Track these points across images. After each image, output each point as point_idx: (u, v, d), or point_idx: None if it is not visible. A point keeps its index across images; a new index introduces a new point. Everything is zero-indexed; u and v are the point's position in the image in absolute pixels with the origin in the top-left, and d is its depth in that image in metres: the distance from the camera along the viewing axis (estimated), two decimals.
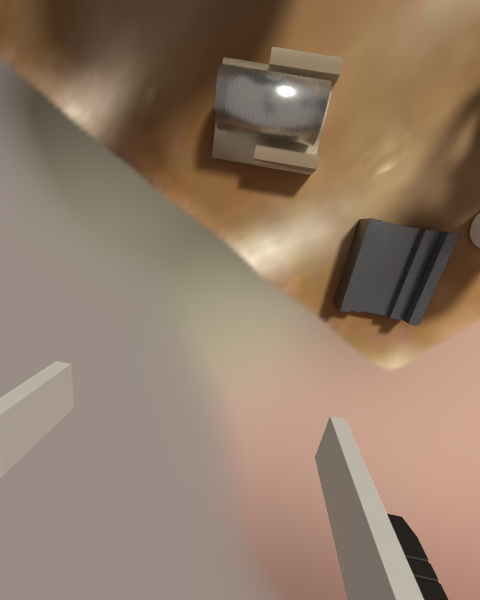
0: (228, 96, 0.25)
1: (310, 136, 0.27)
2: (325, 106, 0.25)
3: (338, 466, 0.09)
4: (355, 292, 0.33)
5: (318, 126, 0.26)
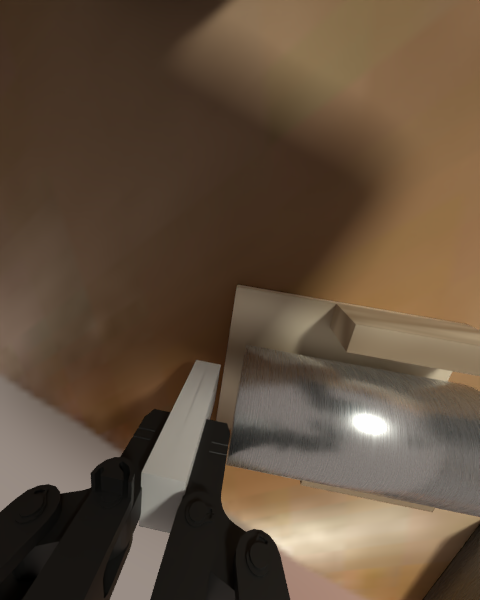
0: (259, 466, 0.10)
1: None
2: None
3: None
4: None
5: (473, 515, 0.11)
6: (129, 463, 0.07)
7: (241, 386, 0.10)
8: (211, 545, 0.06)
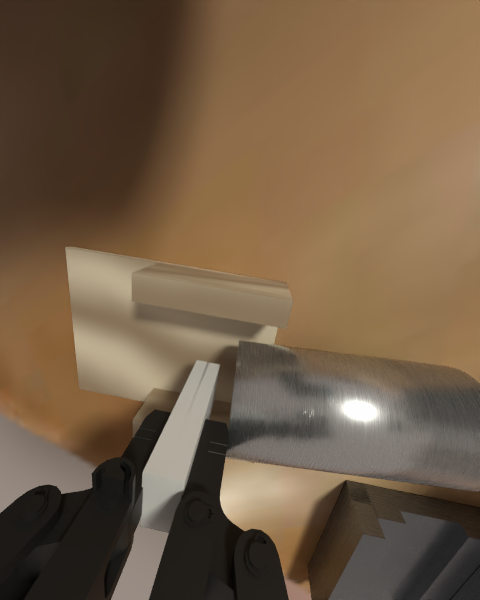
0: (256, 458, 0.11)
1: None
2: None
3: None
4: None
5: None
6: (130, 463, 0.07)
7: (235, 383, 0.10)
8: (210, 545, 0.06)
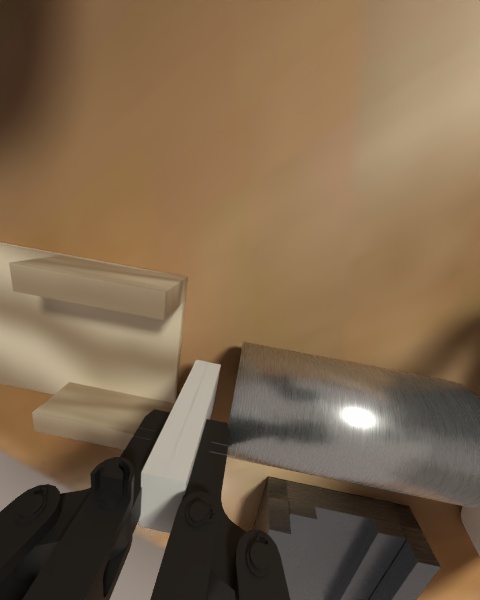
0: (254, 457, 0.11)
1: None
2: None
3: None
4: None
5: (458, 504, 0.11)
6: (129, 463, 0.07)
7: (237, 381, 0.11)
8: (211, 545, 0.06)
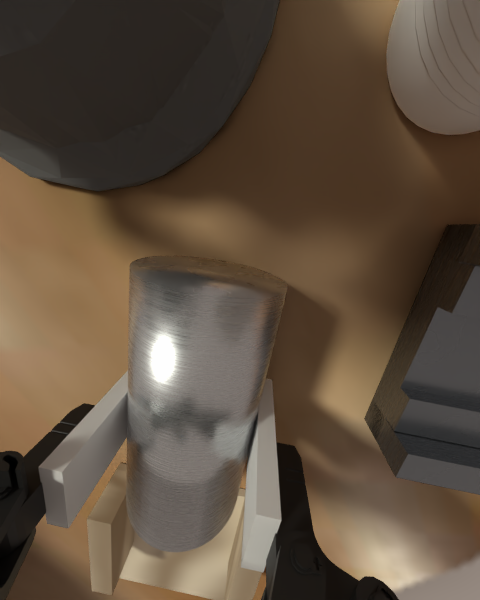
0: (182, 531, 0.10)
1: (275, 315, 0.08)
2: (198, 298, 0.06)
3: None
4: None
5: (255, 306, 0.07)
6: (17, 454, 0.07)
7: (126, 505, 0.11)
8: None
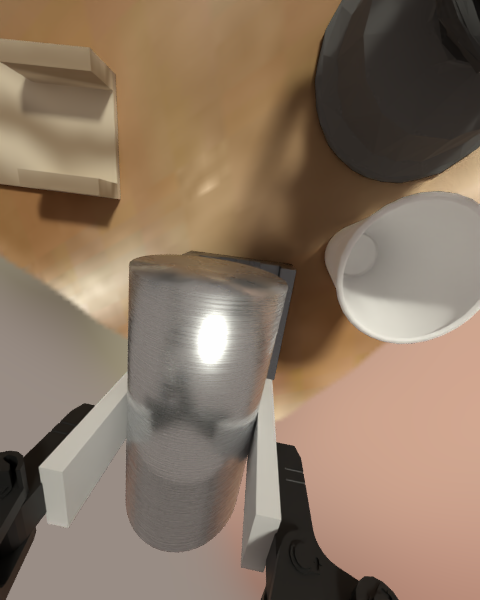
0: (182, 531, 0.10)
1: (275, 314, 0.08)
2: (198, 296, 0.06)
3: None
4: None
5: (255, 305, 0.07)
6: (17, 454, 0.07)
7: None
8: None
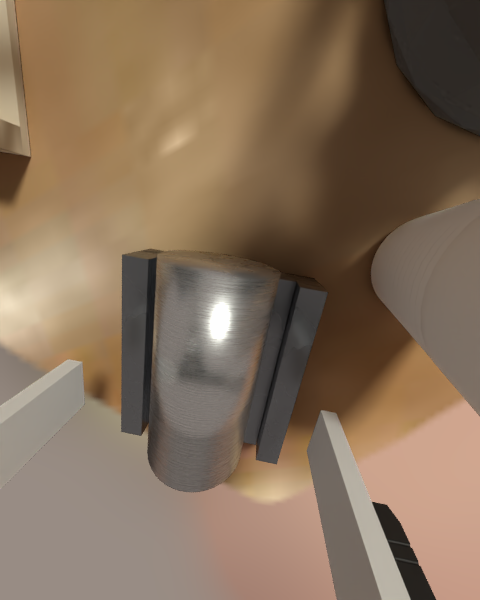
0: (196, 473, 0.12)
1: (270, 295, 0.10)
2: (211, 278, 0.09)
3: (327, 457, 0.10)
4: (139, 401, 0.16)
5: (254, 286, 0.09)
6: None
7: (148, 458, 0.14)
8: None
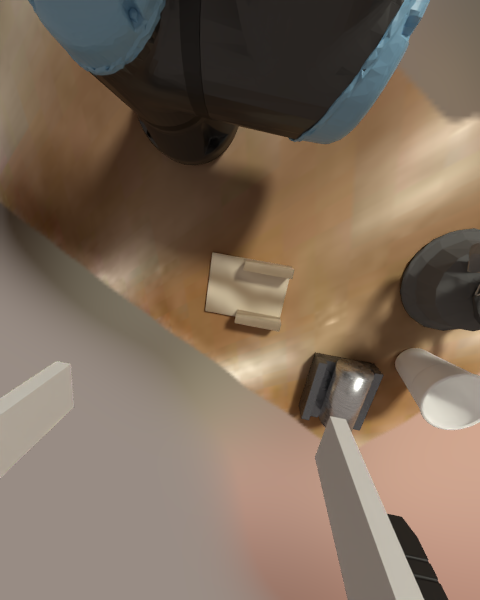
0: None
1: (372, 380, 0.39)
2: (364, 380, 0.38)
3: (338, 466, 0.09)
4: (311, 407, 0.45)
5: (371, 380, 0.38)
6: None
7: None
8: None
